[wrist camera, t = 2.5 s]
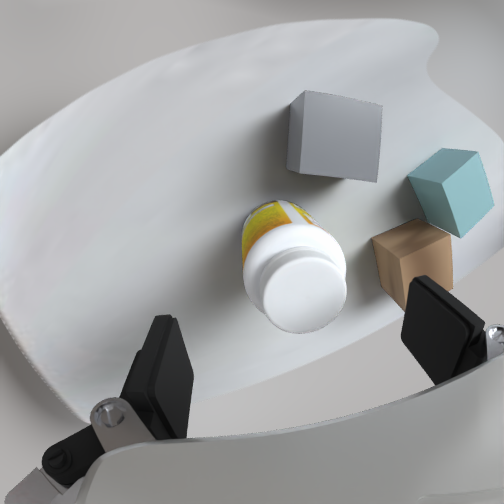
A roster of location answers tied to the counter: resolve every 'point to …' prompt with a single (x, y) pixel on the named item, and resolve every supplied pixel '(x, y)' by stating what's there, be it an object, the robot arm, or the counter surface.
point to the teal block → (453, 190)
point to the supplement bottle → (292, 267)
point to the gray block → (334, 136)
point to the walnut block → (412, 257)
